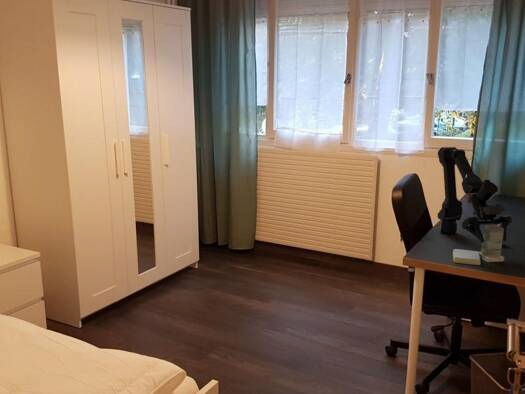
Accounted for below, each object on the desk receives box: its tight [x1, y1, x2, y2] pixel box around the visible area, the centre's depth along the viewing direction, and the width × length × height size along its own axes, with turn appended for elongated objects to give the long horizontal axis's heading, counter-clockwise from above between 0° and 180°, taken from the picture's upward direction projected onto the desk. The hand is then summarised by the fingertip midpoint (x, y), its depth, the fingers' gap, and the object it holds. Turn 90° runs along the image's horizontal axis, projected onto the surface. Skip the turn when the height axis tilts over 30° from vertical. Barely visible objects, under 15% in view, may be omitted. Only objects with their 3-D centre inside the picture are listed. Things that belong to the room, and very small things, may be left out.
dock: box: [452, 248, 481, 266], centre depth 191 cm, size 9×10×2 cm
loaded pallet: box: [478, 224, 505, 263], centre depth 191 cm, size 7×7×13 cm
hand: (494, 241), depth 189 cm, fingers open, 9 cm apart
